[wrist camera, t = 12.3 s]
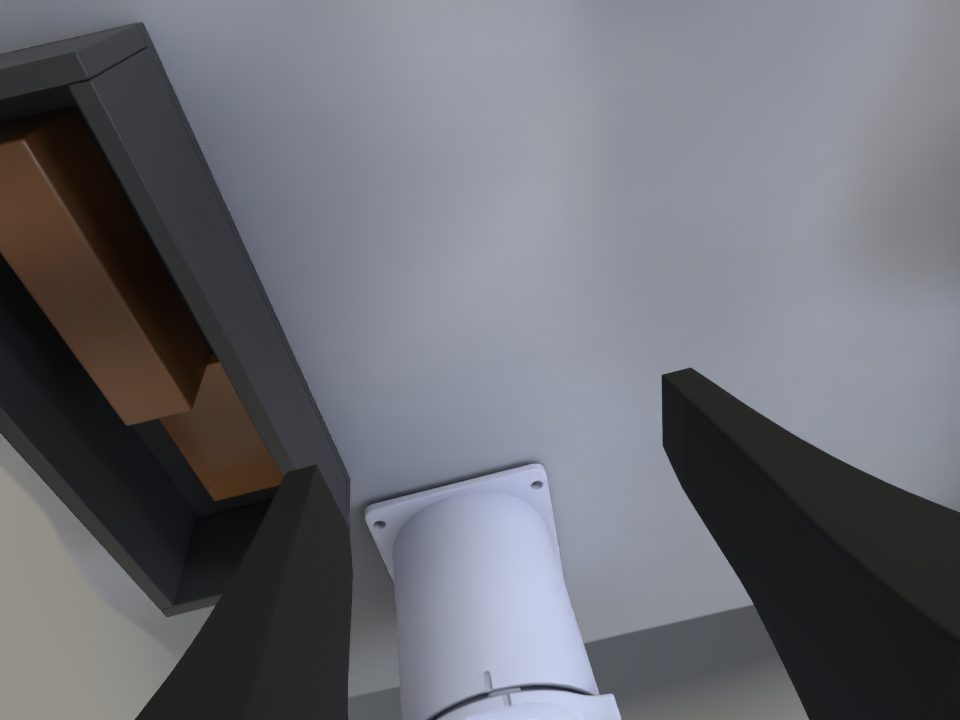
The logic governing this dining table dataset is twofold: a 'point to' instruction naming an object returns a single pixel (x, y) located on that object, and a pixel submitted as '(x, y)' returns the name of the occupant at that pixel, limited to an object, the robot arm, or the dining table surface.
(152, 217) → the tub
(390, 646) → the dining table surface
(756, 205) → the dining table surface
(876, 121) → the dining table surface
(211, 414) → the notched wooden bar
